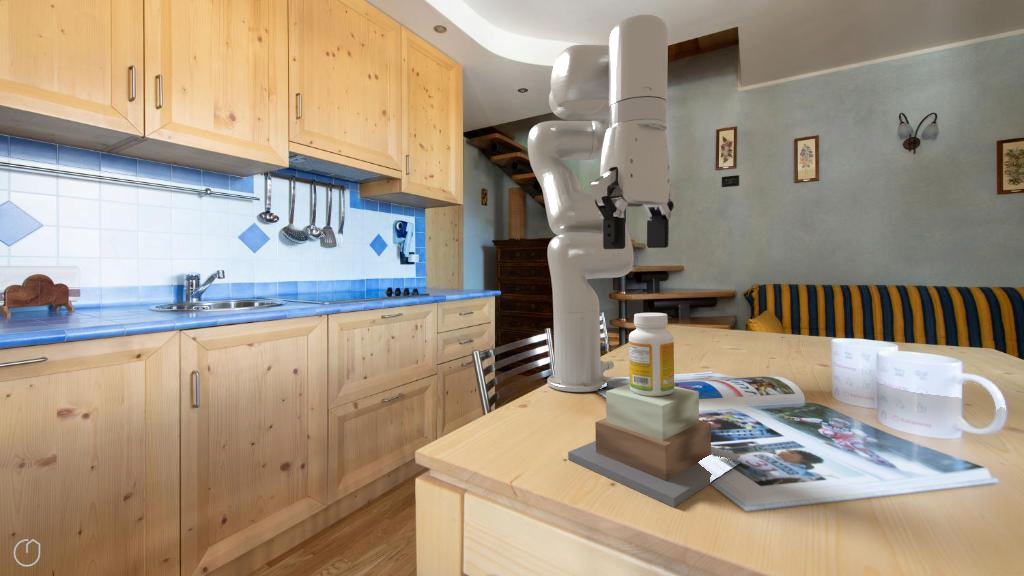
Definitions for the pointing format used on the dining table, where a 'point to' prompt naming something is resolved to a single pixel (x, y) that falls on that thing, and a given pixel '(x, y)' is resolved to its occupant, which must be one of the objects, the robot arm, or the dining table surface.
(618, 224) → the robot arm
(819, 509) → the dining table surface
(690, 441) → the two-tone block stack
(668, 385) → the supplement bottle
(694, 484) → the baseplate
